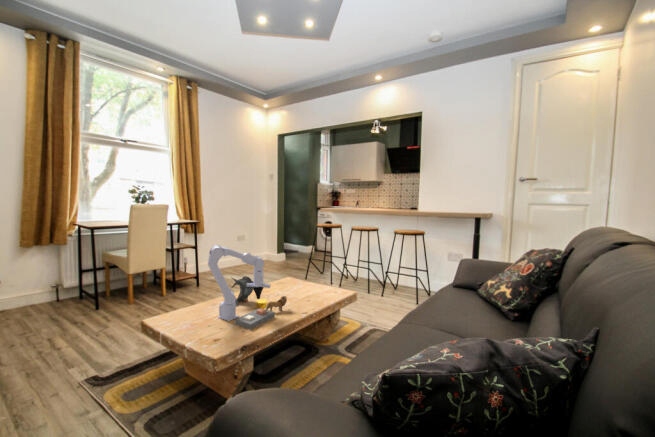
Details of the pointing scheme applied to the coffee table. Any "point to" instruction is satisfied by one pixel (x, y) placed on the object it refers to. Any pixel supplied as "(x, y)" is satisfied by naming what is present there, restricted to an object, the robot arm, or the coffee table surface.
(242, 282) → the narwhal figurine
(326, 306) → the coffee table surface
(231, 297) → the robot arm
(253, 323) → the button housing
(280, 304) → the lion figurine
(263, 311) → the salmon pink block
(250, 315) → the cream cube
